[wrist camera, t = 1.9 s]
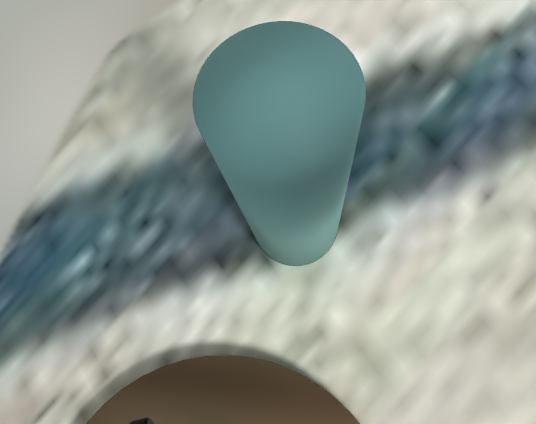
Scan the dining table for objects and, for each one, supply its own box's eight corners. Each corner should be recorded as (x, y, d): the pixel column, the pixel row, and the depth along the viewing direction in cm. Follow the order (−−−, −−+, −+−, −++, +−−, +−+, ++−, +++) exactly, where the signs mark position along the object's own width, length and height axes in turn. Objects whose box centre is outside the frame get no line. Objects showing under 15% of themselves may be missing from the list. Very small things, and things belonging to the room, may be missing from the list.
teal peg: (347, 254, 23) (389, 148, 11) (264, 274, 23) (209, 193, 11) (325, 176, 24) (338, 3, 12) (246, 196, 25) (179, 44, 12)
